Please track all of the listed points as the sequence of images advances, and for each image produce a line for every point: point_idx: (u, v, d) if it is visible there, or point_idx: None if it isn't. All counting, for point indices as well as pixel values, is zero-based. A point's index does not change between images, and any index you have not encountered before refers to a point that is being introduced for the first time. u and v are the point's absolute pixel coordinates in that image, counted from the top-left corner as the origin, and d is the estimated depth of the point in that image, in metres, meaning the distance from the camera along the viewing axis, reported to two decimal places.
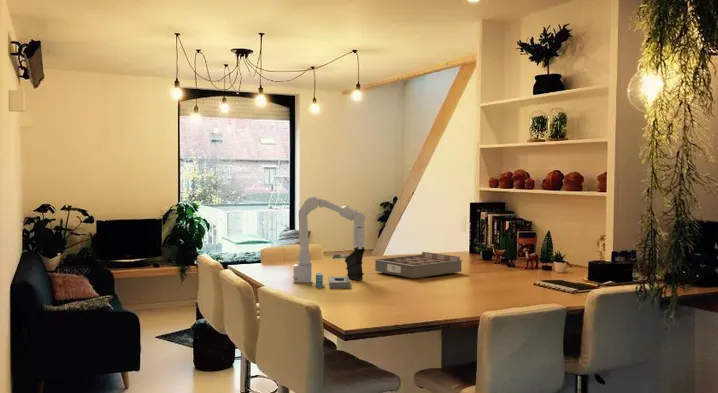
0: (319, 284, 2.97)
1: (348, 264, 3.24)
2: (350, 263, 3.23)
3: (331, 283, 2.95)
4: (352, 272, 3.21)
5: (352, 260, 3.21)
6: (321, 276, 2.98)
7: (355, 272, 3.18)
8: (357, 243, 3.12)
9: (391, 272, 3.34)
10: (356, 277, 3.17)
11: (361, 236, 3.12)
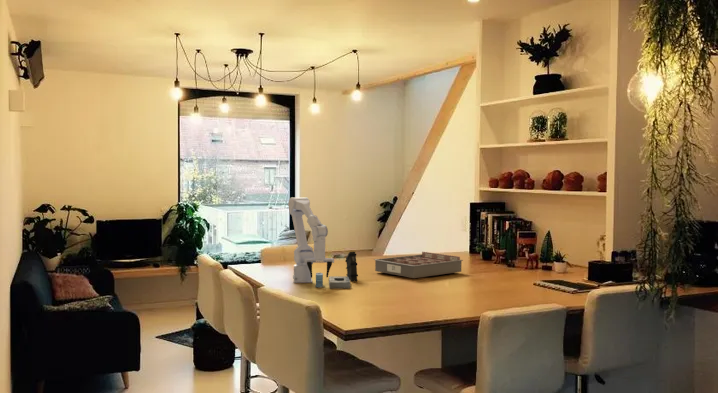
0: (319, 284, 2.97)
1: (347, 264, 3.24)
2: (348, 263, 3.22)
3: (331, 283, 2.95)
4: (349, 273, 3.20)
5: (349, 261, 3.20)
6: (321, 276, 2.98)
7: (350, 273, 3.17)
8: None
9: (391, 272, 3.34)
10: (350, 278, 3.17)
11: (314, 250, 3.00)
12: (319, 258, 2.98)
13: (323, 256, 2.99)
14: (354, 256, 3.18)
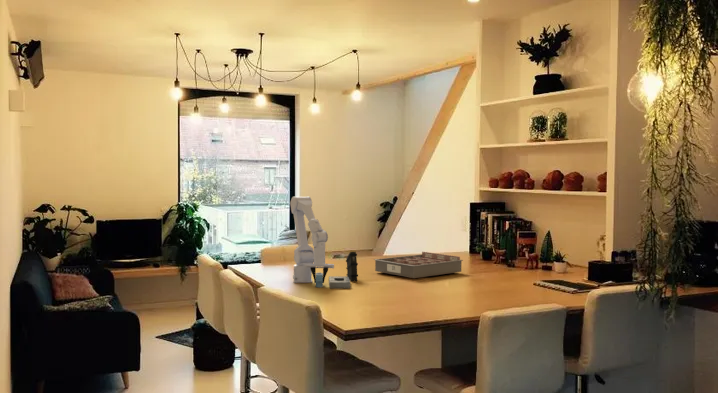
0: (319, 284, 2.97)
1: (347, 264, 3.24)
2: (348, 263, 3.22)
3: (331, 283, 2.95)
4: (349, 273, 3.21)
5: (349, 261, 3.20)
6: (321, 276, 2.98)
7: (350, 273, 3.17)
8: None
9: (391, 272, 3.34)
10: (351, 278, 3.17)
11: (314, 256, 3.00)
12: (319, 264, 2.98)
13: (323, 262, 2.99)
14: (355, 256, 3.18)
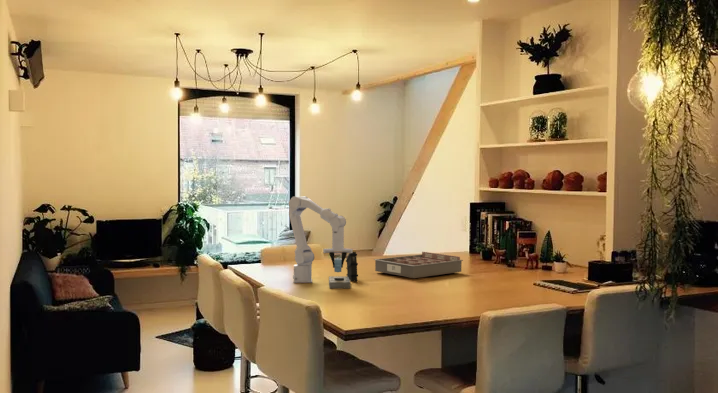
0: (338, 269, 2.99)
1: (347, 264, 3.24)
2: (348, 263, 3.22)
3: (331, 283, 2.95)
4: (349, 273, 3.21)
5: (349, 261, 3.20)
6: (340, 261, 3.00)
7: (350, 273, 3.17)
8: None
9: (391, 272, 3.34)
10: (351, 278, 3.17)
11: (332, 241, 3.02)
12: (338, 248, 3.00)
13: (342, 246, 3.01)
14: (355, 256, 3.18)
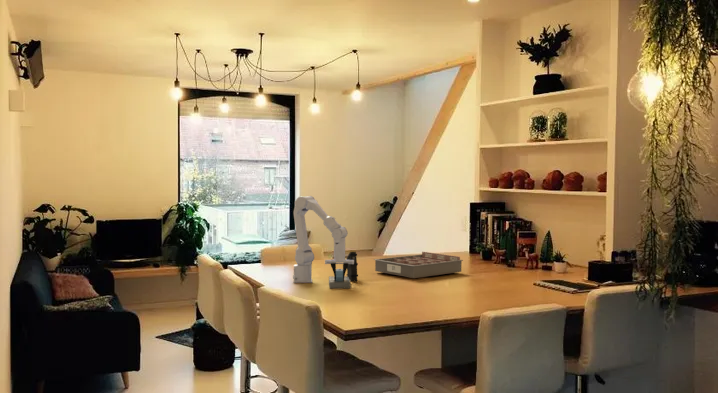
0: (339, 280, 3.00)
1: None
2: None
3: (331, 283, 2.95)
4: (349, 273, 3.21)
5: None
6: (341, 272, 3.01)
7: (350, 273, 3.17)
8: None
9: (391, 272, 3.34)
10: (351, 278, 3.17)
11: (334, 252, 3.02)
12: (339, 260, 3.01)
13: (343, 258, 3.02)
14: (355, 256, 3.18)
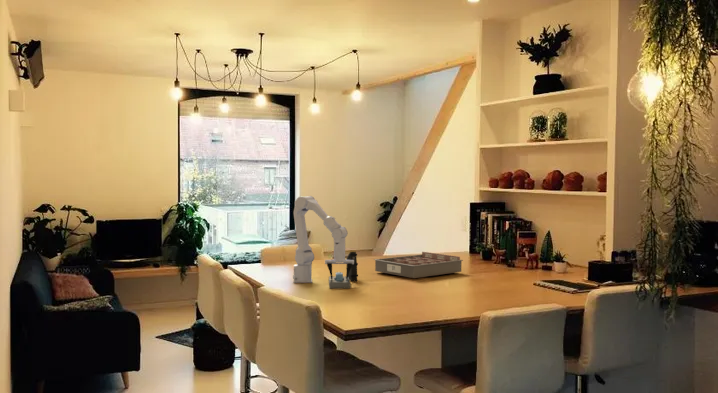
0: None
1: None
2: None
3: (331, 283, 2.95)
4: (349, 273, 3.21)
5: None
6: (341, 275, 3.01)
7: (350, 273, 3.17)
8: None
9: (391, 272, 3.34)
10: (351, 278, 3.17)
11: (334, 252, 3.02)
12: (339, 260, 3.01)
13: (343, 258, 3.02)
14: (355, 256, 3.18)
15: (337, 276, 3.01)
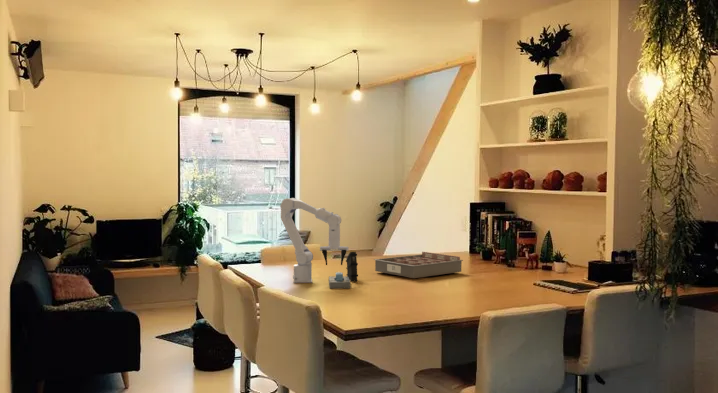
0: None
1: (347, 264, 3.24)
2: (348, 263, 3.22)
3: (331, 283, 2.95)
4: (349, 273, 3.21)
5: (349, 261, 3.20)
6: (341, 275, 3.01)
7: (350, 273, 3.17)
8: None
9: (391, 272, 3.34)
10: (351, 278, 3.17)
11: (329, 239, 3.08)
12: (334, 246, 3.06)
13: (338, 244, 3.07)
14: (355, 256, 3.18)
15: (337, 276, 3.01)
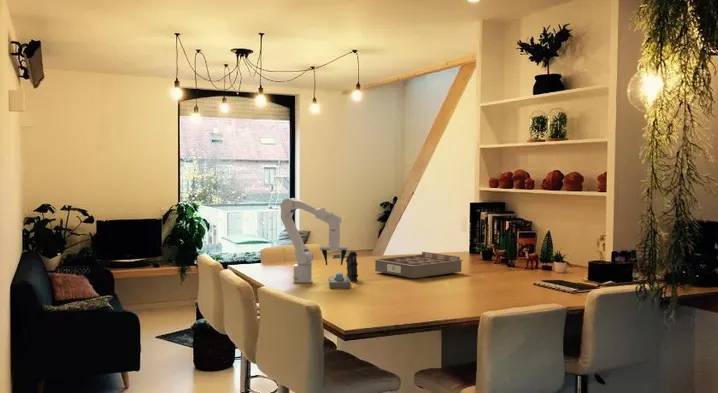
0: None
1: (347, 264, 3.24)
2: (348, 263, 3.22)
3: (331, 283, 2.95)
4: (349, 273, 3.21)
5: (349, 261, 3.20)
6: (341, 275, 3.01)
7: (350, 273, 3.17)
8: None
9: (391, 272, 3.34)
10: (351, 278, 3.17)
11: (329, 239, 3.08)
12: (334, 246, 3.06)
13: (338, 244, 3.07)
14: (355, 256, 3.18)
15: (337, 276, 3.01)
